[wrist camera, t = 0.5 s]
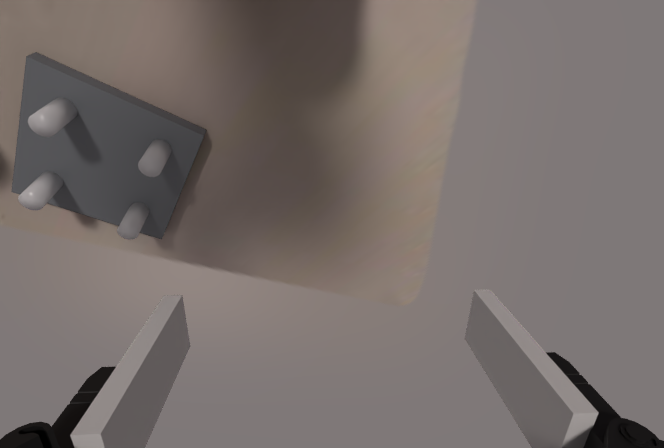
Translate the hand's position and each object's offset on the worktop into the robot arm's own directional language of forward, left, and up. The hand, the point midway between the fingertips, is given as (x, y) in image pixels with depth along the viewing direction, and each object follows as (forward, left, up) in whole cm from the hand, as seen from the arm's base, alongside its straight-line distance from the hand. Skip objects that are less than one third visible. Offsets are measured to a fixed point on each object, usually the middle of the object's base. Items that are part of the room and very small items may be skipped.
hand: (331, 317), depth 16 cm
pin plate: (+14, -15, -26) cm, 34 cm away
